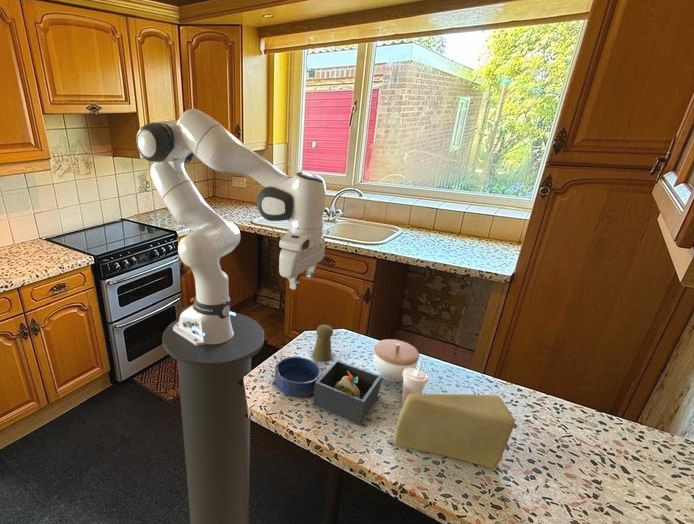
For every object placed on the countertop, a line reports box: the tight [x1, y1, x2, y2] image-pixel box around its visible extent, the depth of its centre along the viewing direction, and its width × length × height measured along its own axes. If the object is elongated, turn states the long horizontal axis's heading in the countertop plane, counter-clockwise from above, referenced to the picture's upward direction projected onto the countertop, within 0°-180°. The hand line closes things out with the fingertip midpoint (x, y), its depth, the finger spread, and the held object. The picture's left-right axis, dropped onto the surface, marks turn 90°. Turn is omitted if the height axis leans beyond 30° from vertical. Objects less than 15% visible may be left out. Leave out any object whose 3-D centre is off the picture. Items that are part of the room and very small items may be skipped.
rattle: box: [335, 371, 360, 399], centre depth 109 cm, size 8×8×12 cm
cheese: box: [392, 393, 516, 470], centre depth 93 cm, size 22×10×15 cm, turn 80°
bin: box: [312, 359, 383, 426], centre depth 110 cm, size 14×14×8 cm
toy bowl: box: [274, 356, 322, 398], centre depth 118 cm, size 13×13×5 cm
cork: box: [312, 324, 334, 362], centre depth 130 cm, size 6×6×11 cm
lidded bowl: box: [373, 338, 420, 383], centre depth 120 cm, size 13×13×11 cm
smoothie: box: [401, 360, 429, 405], centre depth 108 cm, size 6×6×14 cm
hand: (301, 282), depth 114 cm, fingers open, 8 cm apart
